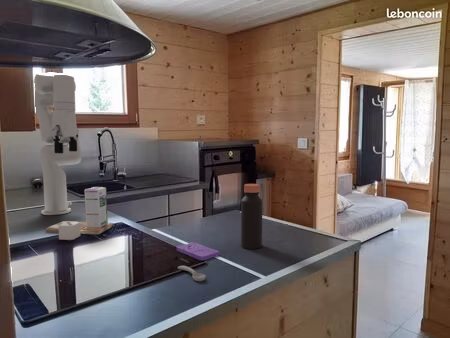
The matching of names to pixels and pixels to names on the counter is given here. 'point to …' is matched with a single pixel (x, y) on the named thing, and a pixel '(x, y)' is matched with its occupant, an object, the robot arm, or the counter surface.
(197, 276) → the spoon
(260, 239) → the bottle
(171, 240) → the counter surface
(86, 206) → the syrup box
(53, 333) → the counter surface
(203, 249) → the sponges
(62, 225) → the grey cube
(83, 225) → the board
